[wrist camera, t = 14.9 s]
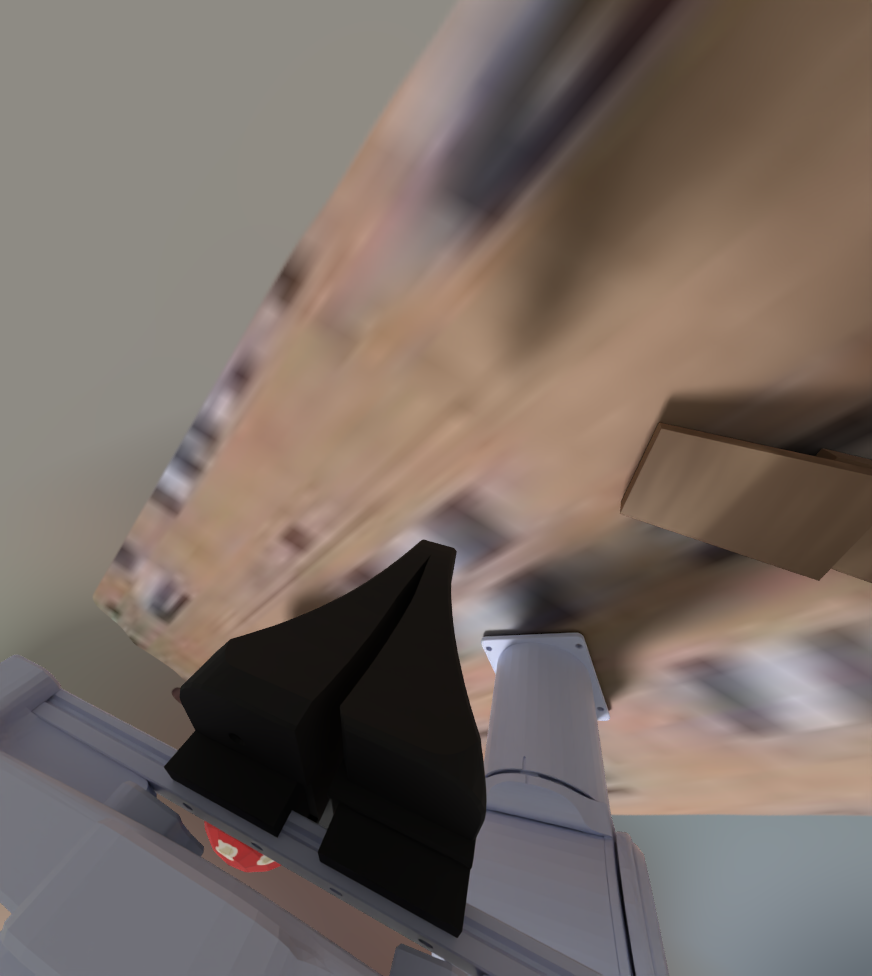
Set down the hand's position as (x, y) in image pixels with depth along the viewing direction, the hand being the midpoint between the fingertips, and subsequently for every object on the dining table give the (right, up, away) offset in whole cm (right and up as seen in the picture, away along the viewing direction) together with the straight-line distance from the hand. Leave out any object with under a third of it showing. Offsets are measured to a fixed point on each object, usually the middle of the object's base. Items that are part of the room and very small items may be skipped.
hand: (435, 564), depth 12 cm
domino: (+11, +4, +5) cm, 12 cm away
